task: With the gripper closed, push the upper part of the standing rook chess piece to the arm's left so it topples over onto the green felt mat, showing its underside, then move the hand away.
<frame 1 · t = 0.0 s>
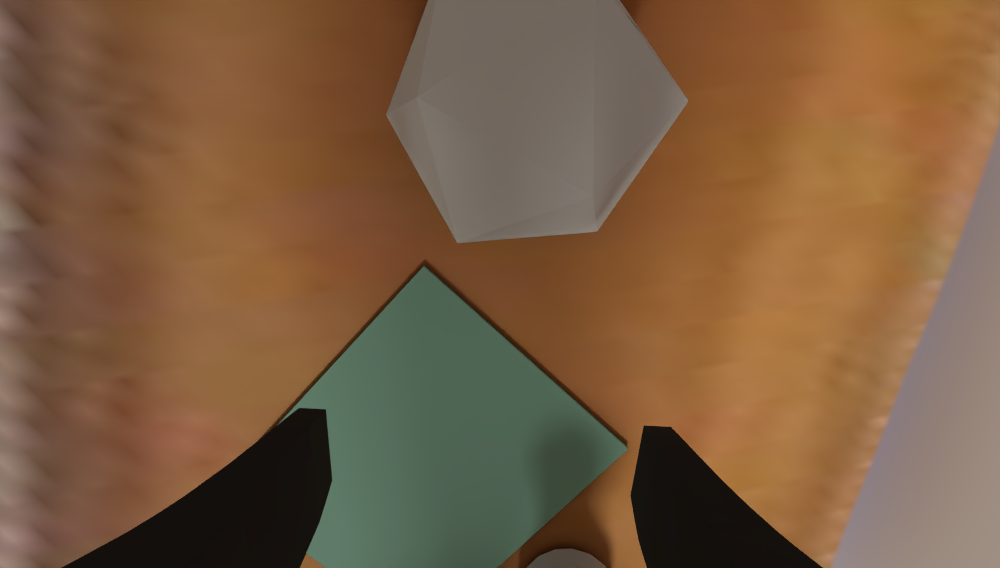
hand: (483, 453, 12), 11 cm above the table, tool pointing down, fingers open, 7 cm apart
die: (524, 118, 21), on the table
felt mat: (422, 466, 24), on the table
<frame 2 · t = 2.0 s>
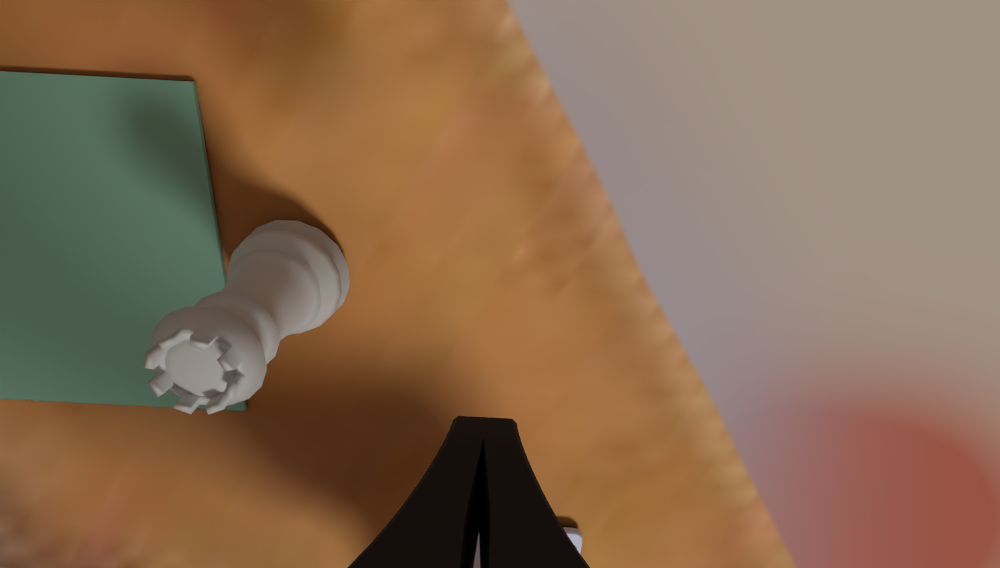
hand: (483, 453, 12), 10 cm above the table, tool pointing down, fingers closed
rook chess piece: (300, 267, 22), on the table
felt mat: (76, 257, 22), on the table
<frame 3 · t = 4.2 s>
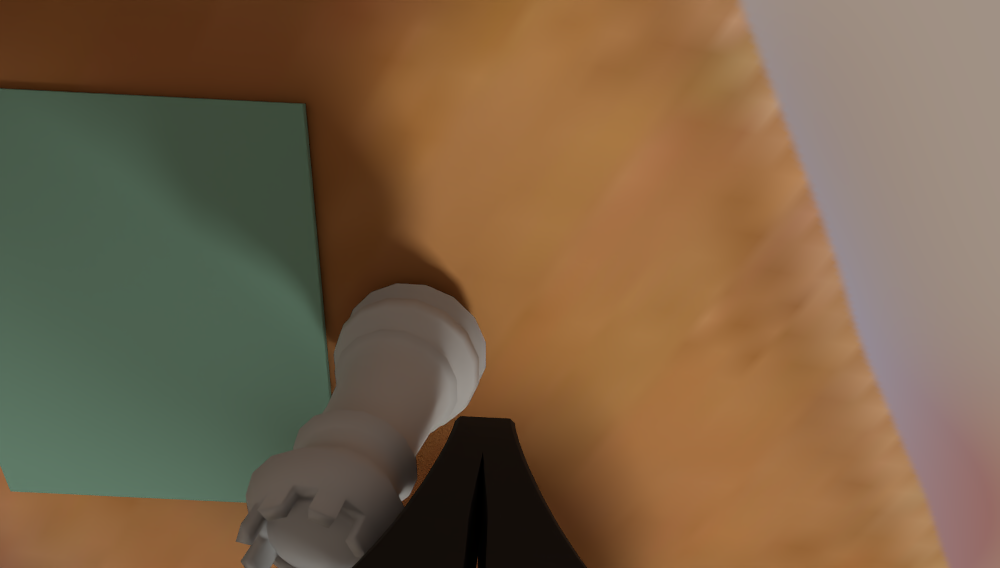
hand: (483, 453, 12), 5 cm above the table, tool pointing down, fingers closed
rook chess piece: (420, 339, 17), on the table, touching gripper
felt mat: (137, 325, 17), on the table
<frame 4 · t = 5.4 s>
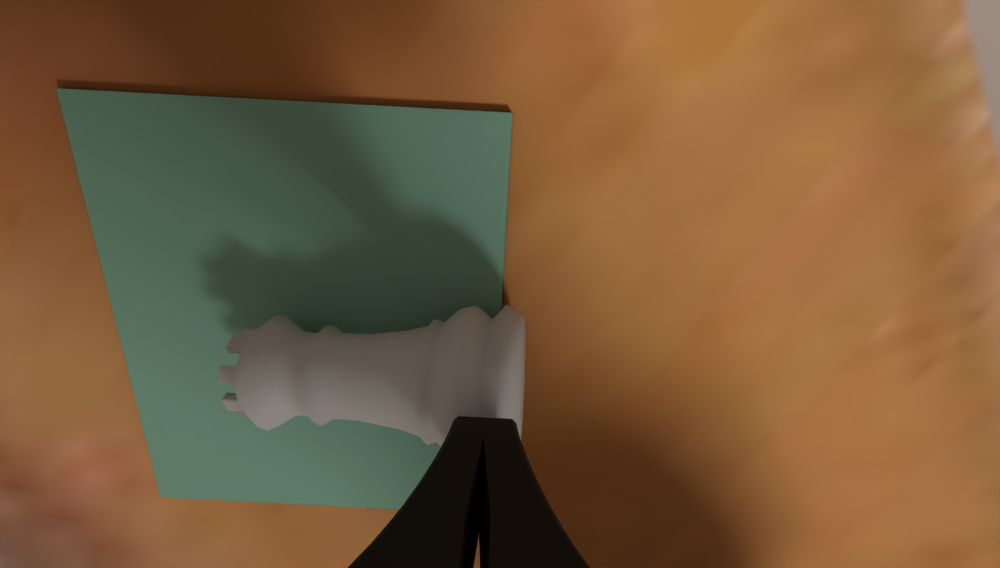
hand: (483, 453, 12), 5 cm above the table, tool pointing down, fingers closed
rook chess piece: (529, 385, 15), point 2 cm above the table, touching felt mat
felt mat: (310, 332, 17), on the table
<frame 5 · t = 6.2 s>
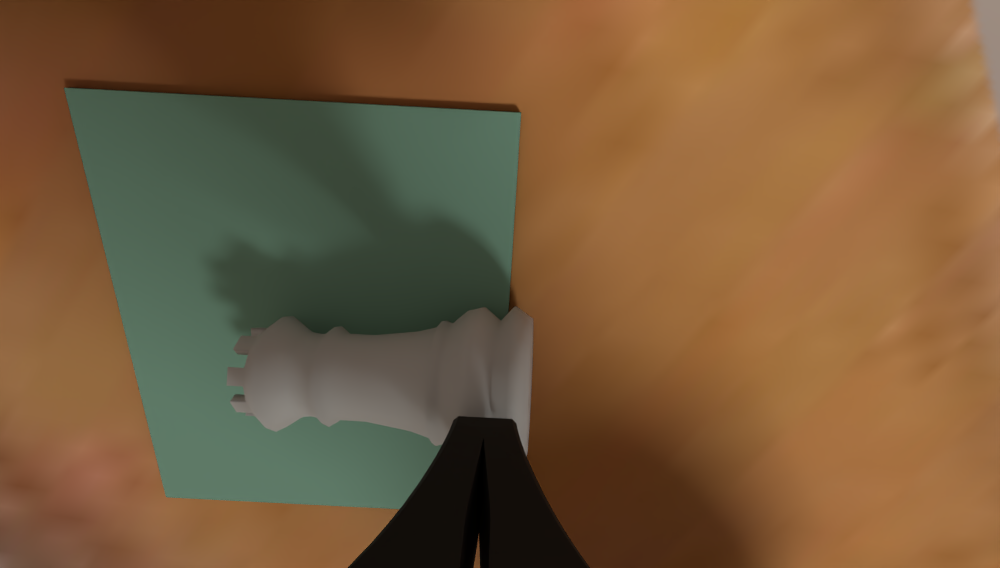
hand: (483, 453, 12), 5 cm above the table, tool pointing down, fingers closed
rook chess piece: (537, 387, 15), point 2 cm above the table, touching felt mat
felt mat: (317, 332, 17), on the table
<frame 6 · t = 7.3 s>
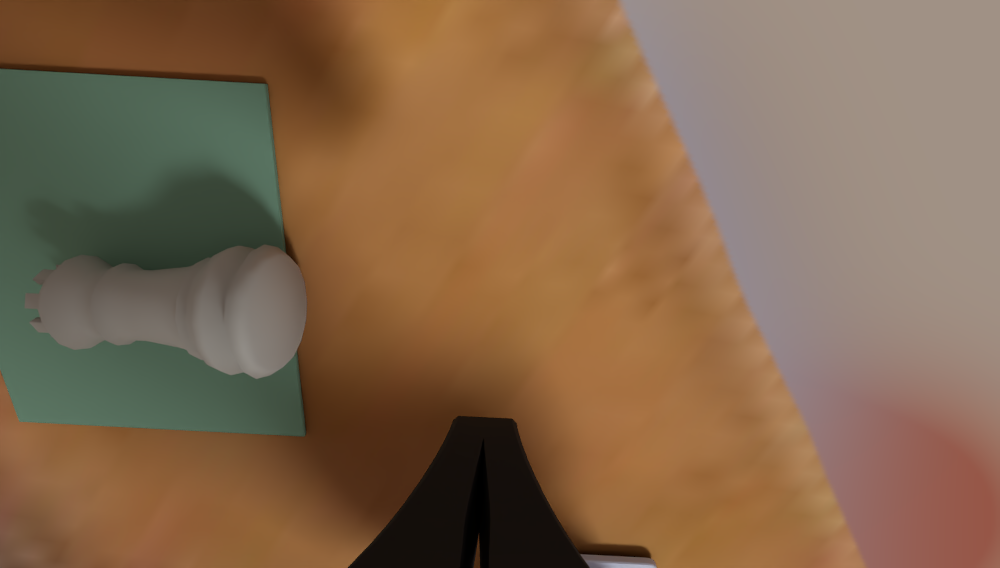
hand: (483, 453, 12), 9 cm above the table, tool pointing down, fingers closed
rook chess piece: (287, 312, 18), point 2 cm above the table, touching felt mat
felt mat: (128, 273, 20), on the table
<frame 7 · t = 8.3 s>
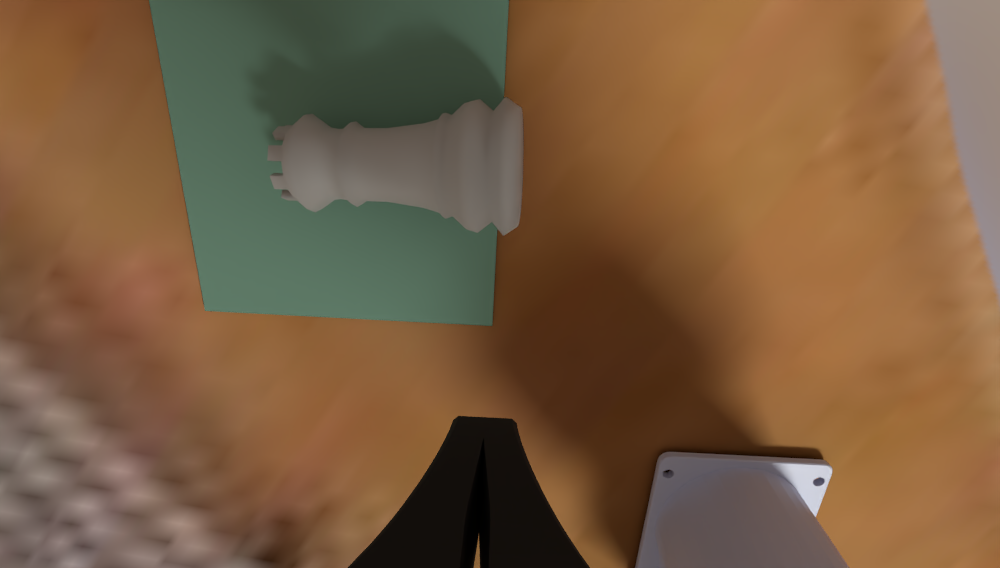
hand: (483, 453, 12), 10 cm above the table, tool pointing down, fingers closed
rook chess piece: (526, 168, 17), point 2 cm above the table, touching felt mat
felt mat: (339, 146, 20), on the table
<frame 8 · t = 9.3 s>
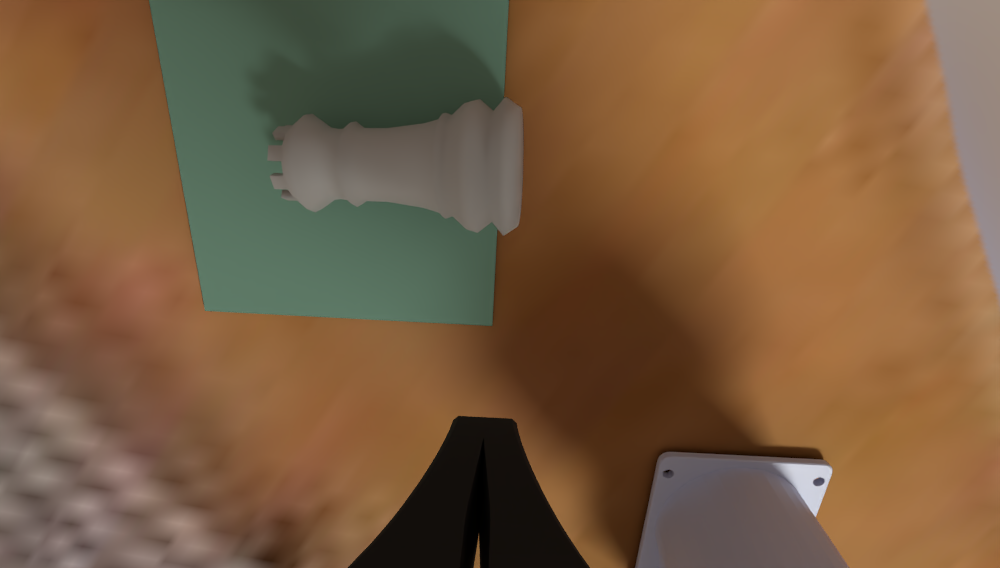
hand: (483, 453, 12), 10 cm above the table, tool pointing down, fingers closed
rook chess piece: (526, 168, 17), point 2 cm above the table, touching felt mat
felt mat: (339, 146, 20), on the table
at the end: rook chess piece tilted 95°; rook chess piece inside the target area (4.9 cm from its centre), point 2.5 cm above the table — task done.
